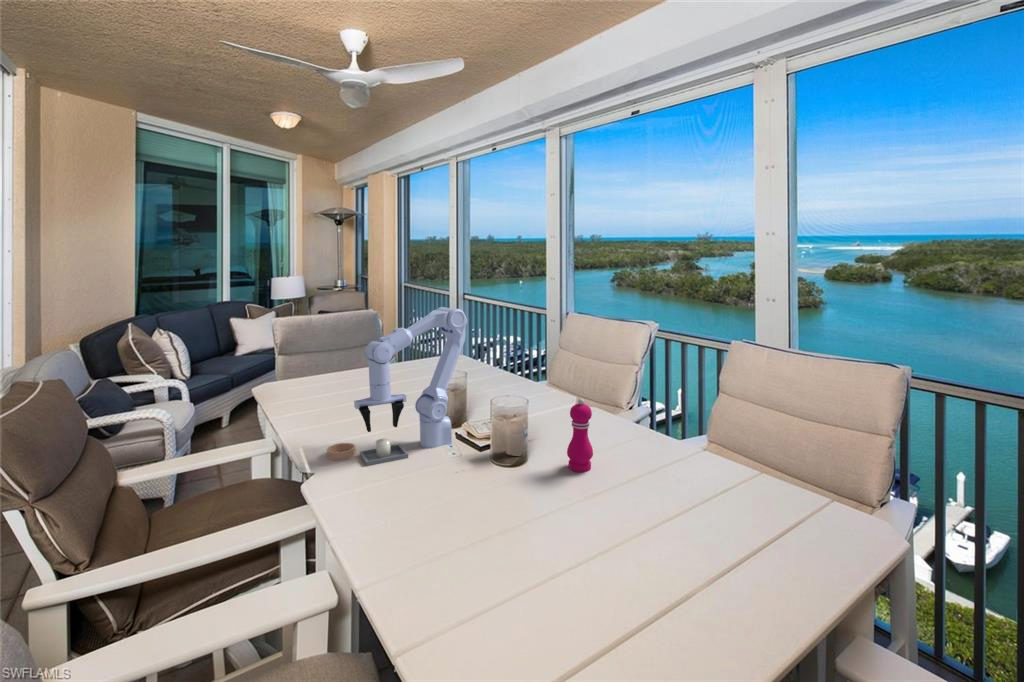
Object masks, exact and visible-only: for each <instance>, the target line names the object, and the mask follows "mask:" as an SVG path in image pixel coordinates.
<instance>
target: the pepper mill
mask: <svg viewBox="0 0 1024 682" xmlns="http://www.w3.org/2000/svg"><path fill="white" fill-rule="evenodd" d="M592 412H593V411H592V409H591V407H590V406H589V405H588V404H585V399H583V398H579V399H577V403H575V404H574V405H572V407H570V410H569V415H570V416H569V417H570V418H571V427H572V437H571V439H570V442H569V444H568V446H567V448H566V454H567V455H566V456H567V457H568V458H569V460H568V468H569V469H570V470H571V471H573V472H576V473H585V472H588V471H590V470H591V469H592V462H591V459H592V458H593V456H594V450H593V445H592V444H591V443H592V442H591V441H590V438H589V434H588V432H589V428H590V423H591V422H590V420H591V419H592V416H593V413H592Z"/></svg>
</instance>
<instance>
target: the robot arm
mask: <svg viewBox="0 0 1024 682" xmlns="http://www.w3.org/2000/svg"><path fill="white" fill-rule="evenodd" d="M468 321H469V320H468V319H467V316H466V314H465V311H463V310H462V309H461V308H451V307H445V306H441V307H440V306H439V307H438V308H436V309H434V310H431V311H430V312H429V313H428V314H427V315H425V316H424V317H423V318H420V319H418V320H417V321H416V322H415V323H413V324H412V325H410V326H409V327H407V328H404V327H395V328H393V329H392V332H390V333H388V334H387V335H385V336H380V337H379V338H378V339H379V340H378V341H377V340H372V341H371V342H369V343H367V346H366V347H365V351H363V353H364V357H365V358H366V359H367V360H368V361H367V362H368V380H369V383H368V384H369V396H370V397H366V398H363V399H362V398H361V399H358V400H354V401H353V402H354V403H353V404H354V406H353V407H354V408H355V410H358V411H359V413H360V414H361V416H362V419H363V421H364V425H365V428H366V431H367V433H371V432H372V426H371V410H370V408H369V407H373V406H381V405H388V404H390V405H391V410H392V411H391V412H392V427H394V428H398V424H399V420H400V416H401V414H402V412H403V410H404V407H405V404H404V403H405V402H407V395H406V394H405V393H399V394H391V373H390V368H391V367H390V361H391V360H392V358H393V356H394V355H395V354H397V353H399V352H400V351H402V350H403V349H405V348H406V347H409V346H410V345H411V344H412V341H413V339H415V338H417V337H418V336H420V335H422V334H424V333H425V332H428V331H429V330H432V329H433V328H439V329H440V330H441V331H442V332H443V335H444V336H445V339H446V341H445V343H444V347H443V349H442V351H441V354H440V357H439V358H438V361H437V364H436V368H435V369H434V372H433V375H432V378H431V381H430V383H429V386H427V387H425V388H424V389H423V390H422V393H421V395H420V396H419V397H417V399H416V401H415V404H414V407H415V411H416V413H418V417H419V437H420V440H419V441H420V443H419V445H420V447H423V448H424V449H425V448H426V449H433V448H435V449H436V448H439V447H442V446H446V445H447V446H449V447H453V437H452V436H453V435H452V434H453V433H452V431H453V430H452V421H451V419H450V417H449V416H447V412H448V403H449V397H448V394H447V390H448V387H449V385H450V382H451V379H452V376H453V374H454V371H455V368H456V365H457V363H458V361H459V357H460V355H461V353H462V350H463V347H464V344H465V341H466V326H467V324H468Z"/></svg>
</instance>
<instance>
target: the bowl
mask: <svg viewBox="0 0 1024 682" xmlns="http://www.w3.org/2000/svg"><path fill="white" fill-rule="evenodd" d="M356 455H357V446H356V444H355V443H351V442H340V443H334V444H332V445H330V446H328V447H327V448H326V457H327V459H328V460H331V461H344V460H348V459H351V458H354V457H355V456H356Z"/></svg>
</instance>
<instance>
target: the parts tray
mask: <svg viewBox="0 0 1024 682" xmlns="http://www.w3.org/2000/svg"><path fill="white" fill-rule="evenodd" d="M390 448H391V457H386V458H381V459H378V458H377V452H376V448H370V449H365V450H360V451H359V454H358V455H359V457H360V458H361V460H362V461H363V463H364V465H365V466H366V467H370V466H371V467H372V466H376V465H380V464H385V463H390V462H396V461H401V460H405V459H406V460H407V459H409V453H408V452H407V451H406V450H405V449H404V447H402V446H401V444H399V443H397V444H393V445H390Z"/></svg>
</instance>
